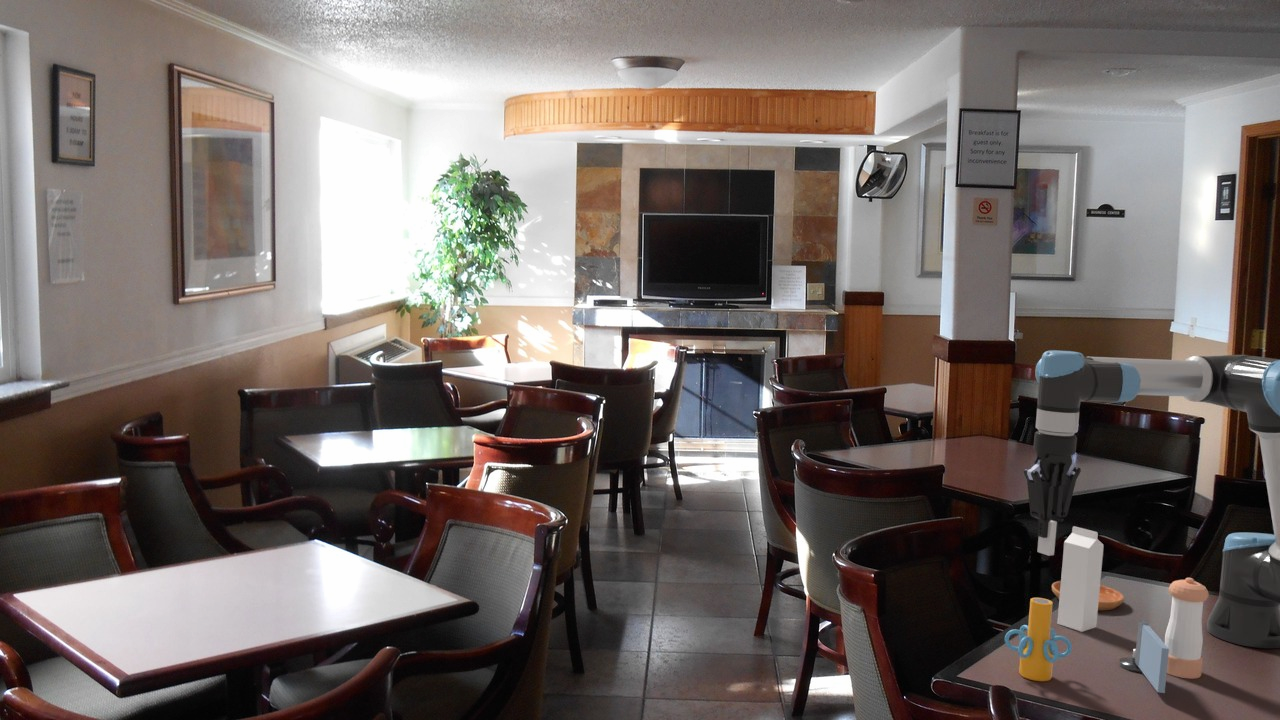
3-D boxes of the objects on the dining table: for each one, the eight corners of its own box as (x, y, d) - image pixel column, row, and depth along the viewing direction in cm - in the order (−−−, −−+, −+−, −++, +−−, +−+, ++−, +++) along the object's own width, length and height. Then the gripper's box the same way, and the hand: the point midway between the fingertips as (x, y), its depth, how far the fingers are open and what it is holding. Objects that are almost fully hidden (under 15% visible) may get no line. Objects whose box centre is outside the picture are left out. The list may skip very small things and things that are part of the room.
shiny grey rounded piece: (1132, 659, 216) (1134, 642, 216) (1158, 670, 211) (1160, 652, 211) (1112, 663, 214) (1114, 646, 213) (1138, 674, 208) (1140, 657, 208)
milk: (1081, 632, 231) (1090, 534, 229) (1056, 623, 236) (1064, 527, 234) (1096, 627, 235) (1105, 530, 233) (1071, 618, 240) (1080, 524, 237)
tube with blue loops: (1067, 671, 208) (1073, 597, 207) (1070, 691, 199) (1077, 614, 197) (1002, 661, 212) (1008, 588, 211) (1001, 680, 202) (1008, 604, 201)
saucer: (1122, 598, 257) (1123, 587, 257) (1123, 618, 243) (1124, 605, 242) (1052, 587, 264) (1053, 576, 263) (1048, 606, 249) (1049, 593, 249)
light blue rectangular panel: (1134, 662, 211) (1138, 620, 210) (1141, 662, 211) (1145, 621, 210) (1157, 692, 196) (1161, 648, 195) (1164, 693, 196) (1169, 648, 195)
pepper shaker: (1185, 681, 206) (1195, 585, 204) (1152, 667, 213) (1161, 574, 211) (1209, 675, 209) (1218, 581, 208) (1175, 662, 216) (1184, 571, 214)
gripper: (1064, 427, 207) (1053, 545, 209) (1015, 430, 201) (1005, 551, 203) (1096, 434, 200) (1085, 555, 203) (1047, 437, 194) (1036, 562, 197)
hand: (1045, 553), depth 203 cm, fingers closed
